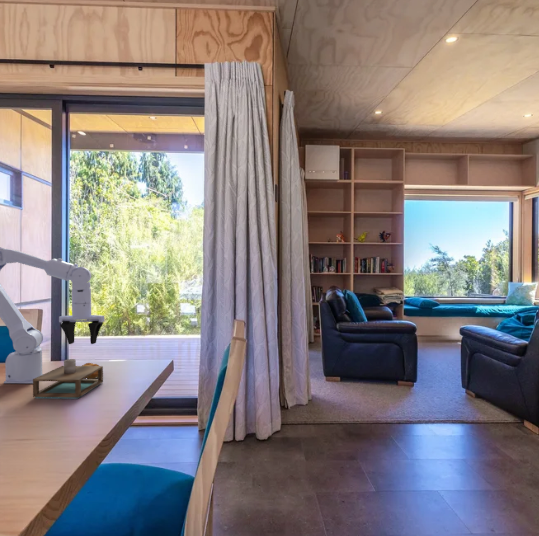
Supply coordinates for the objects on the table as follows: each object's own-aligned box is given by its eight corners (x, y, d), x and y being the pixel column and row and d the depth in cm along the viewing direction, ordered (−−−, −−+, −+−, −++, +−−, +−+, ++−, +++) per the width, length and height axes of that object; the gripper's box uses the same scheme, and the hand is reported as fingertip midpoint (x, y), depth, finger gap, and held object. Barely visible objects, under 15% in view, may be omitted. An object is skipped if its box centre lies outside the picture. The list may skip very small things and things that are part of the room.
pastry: (108, 376, 119) (108, 365, 119) (87, 382, 114) (87, 370, 114) (95, 371, 125) (95, 360, 125) (75, 376, 120) (75, 365, 120)
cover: (33, 396, 100) (32, 366, 100) (62, 381, 113) (61, 354, 113) (78, 397, 99) (78, 366, 99) (102, 381, 112) (102, 354, 112)
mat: (35, 398, 100) (35, 396, 100) (61, 383, 112) (61, 382, 112) (77, 398, 99) (77, 397, 99) (99, 384, 111) (99, 382, 111)
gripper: (52, 304, 117) (53, 346, 118) (96, 304, 117) (97, 346, 117) (66, 302, 124) (66, 341, 125) (107, 301, 124) (107, 341, 124)
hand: (82, 343), depth 121 cm, fingers open, 7 cm apart
